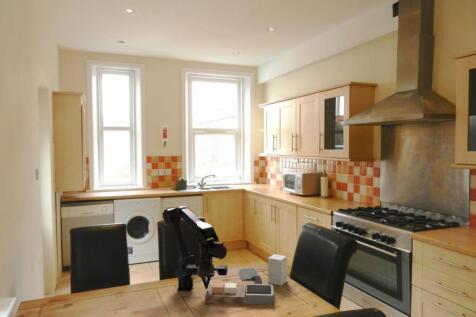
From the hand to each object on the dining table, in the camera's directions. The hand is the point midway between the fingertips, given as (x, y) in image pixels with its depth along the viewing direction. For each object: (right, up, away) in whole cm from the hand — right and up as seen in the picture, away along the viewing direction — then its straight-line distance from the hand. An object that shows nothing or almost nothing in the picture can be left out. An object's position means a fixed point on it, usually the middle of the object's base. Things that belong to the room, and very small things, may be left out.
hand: (206, 288), depth 161 cm
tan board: (+9, -4, 0) cm, 10 cm away
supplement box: (+34, -3, +17) cm, 38 cm away
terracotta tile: (+5, -1, 0) cm, 5 cm away
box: (+24, -4, -2) cm, 24 cm away
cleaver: (+21, -3, +21) cm, 30 cm away
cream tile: (+11, -1, -1) cm, 11 cm away
